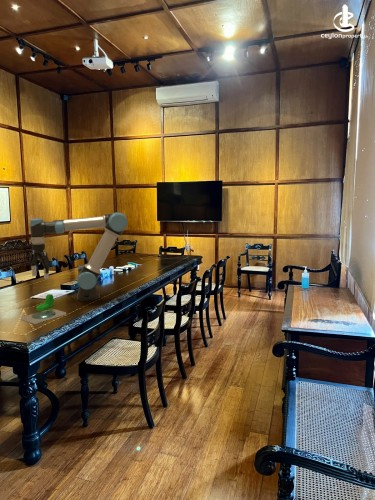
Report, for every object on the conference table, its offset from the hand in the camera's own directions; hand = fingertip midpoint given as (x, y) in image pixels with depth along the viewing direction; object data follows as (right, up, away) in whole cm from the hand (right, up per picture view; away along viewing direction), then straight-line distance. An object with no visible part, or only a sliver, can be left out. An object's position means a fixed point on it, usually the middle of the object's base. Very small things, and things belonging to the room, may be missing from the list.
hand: (40, 277), depth 219 cm
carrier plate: (+8, -22, -15) cm, 28 cm away
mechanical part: (+1, -20, +3) cm, 20 cm away
